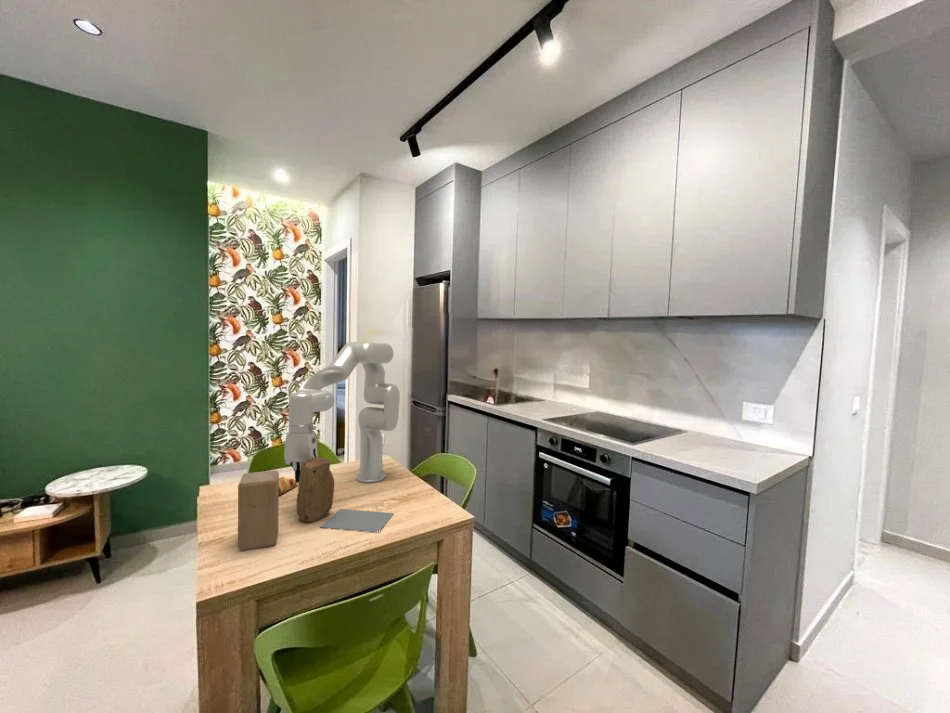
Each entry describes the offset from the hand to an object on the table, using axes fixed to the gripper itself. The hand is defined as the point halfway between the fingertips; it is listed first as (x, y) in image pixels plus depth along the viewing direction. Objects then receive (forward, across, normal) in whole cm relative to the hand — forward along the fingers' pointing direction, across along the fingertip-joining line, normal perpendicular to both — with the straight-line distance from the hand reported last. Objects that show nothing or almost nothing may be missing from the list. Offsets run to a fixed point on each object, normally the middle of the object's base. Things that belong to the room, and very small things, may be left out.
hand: (300, 481), depth 136 cm
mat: (+12, -21, 0) cm, 24 cm away
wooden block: (+12, +2, +18) cm, 22 cm away
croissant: (+13, +21, -16) cm, 29 cm away
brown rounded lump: (+12, -5, 0) cm, 13 cm away
